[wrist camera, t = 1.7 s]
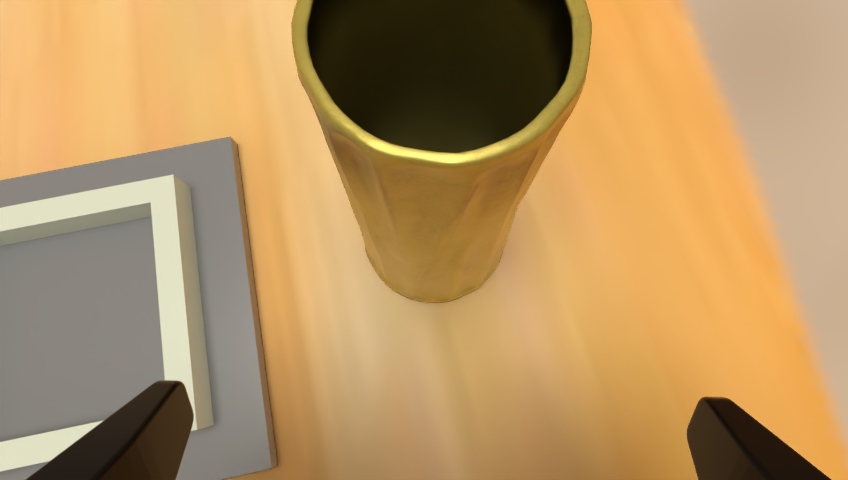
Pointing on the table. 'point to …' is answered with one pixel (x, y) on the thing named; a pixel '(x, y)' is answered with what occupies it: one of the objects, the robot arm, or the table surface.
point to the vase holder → (131, 306)
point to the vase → (439, 121)
